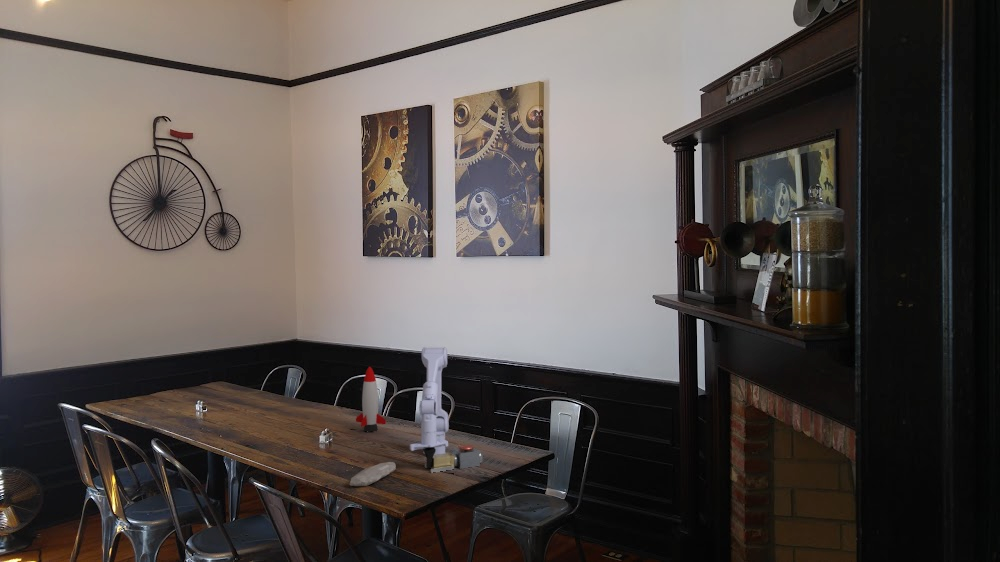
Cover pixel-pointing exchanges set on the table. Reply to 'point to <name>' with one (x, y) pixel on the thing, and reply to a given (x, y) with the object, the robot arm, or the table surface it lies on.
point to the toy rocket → (370, 404)
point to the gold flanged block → (442, 460)
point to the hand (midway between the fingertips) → (429, 467)
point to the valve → (463, 458)
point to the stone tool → (372, 474)
